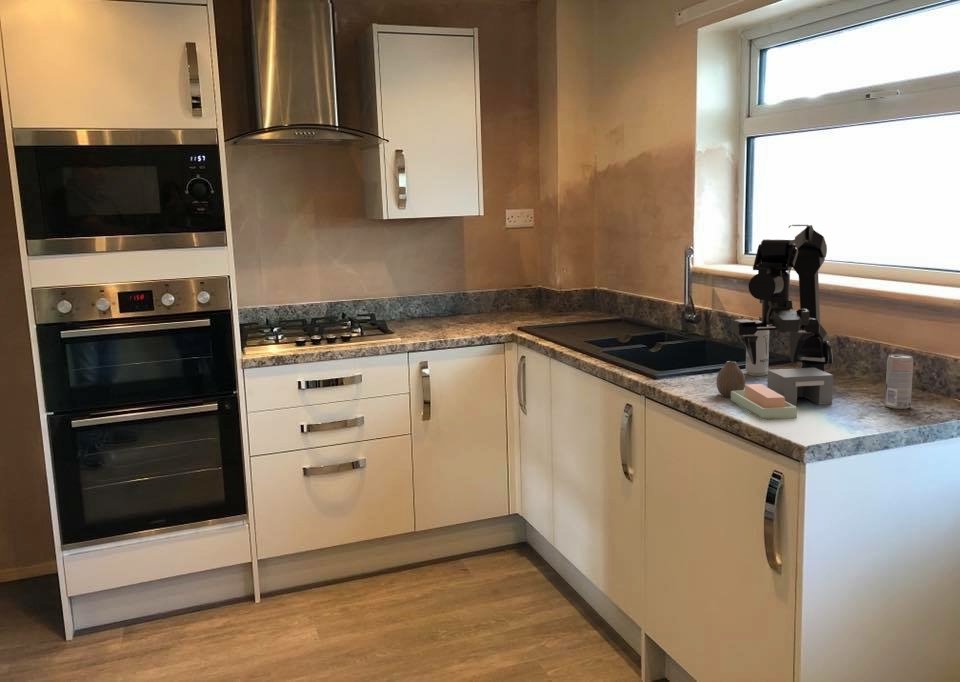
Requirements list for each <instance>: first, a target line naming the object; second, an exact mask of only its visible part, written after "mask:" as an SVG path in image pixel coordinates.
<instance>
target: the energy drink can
mask: <svg viewBox="0 0 960 682" xmlns="http://www.w3.org/2000/svg"><path fill="white" fill-rule="evenodd" d="M752 321H755V322H756V323H757V322H761V321H759V320H758V319H757V320H756V319H755V320H752ZM755 335H756V336H758V338H757V341H756V364H755V365H754V364H752V362H751V359H750V357H749V354H748V352H747V349H746V348H745V371H746V372H747V375H748V376H754V377H761V376H762V377H764V376H766V375H767V374H768V370H769V357H770V356H769V352H770V351H769V350H770V349H769V347H770V330H760V331H757V332H756V333H755Z"/></svg>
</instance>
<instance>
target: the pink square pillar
mask: <svg viewBox="0 0 960 682" xmlns="http://www.w3.org/2000/svg"><path fill="white" fill-rule="evenodd" d="M744 390H745V396H744V397H745V398H746V399H748V400H750V401H752V402H754V403H755V404H757V405H759V406H761V407H762V408H779V407H785V397H784V396H782V395H780V394H778V393H777V392H775V391H773V390H771V389H769V388H768V387H767V386H766V385H764V384H762V383H752V384H751V383H750V384H749V383H747V384H746V383H745V388H744Z"/></svg>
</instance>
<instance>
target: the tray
mask: <svg viewBox="0 0 960 682" xmlns="http://www.w3.org/2000/svg"><path fill="white" fill-rule="evenodd" d="M744 396H745V389H744V390H739V391H731V398H730V401H731V402H732V403H733V402H734V403H733V404H735V403H736V405H737V406H738V405H739V406H738V407H740V406H741V407H740V408H742V409H743V408H744V409H743V410H745V409H746V410H745V411H747V412H748V411H749V413H750V412H751V413H750V414H752V415H753V414H754V415H753V416H755V415H756V416H755V417H757V418H758V417H759V419H760V418H761V420H762V419H767V420H781V419H782V420H783V419H797V415H798V407H797V405H796V406H794V405H792V404H790V403H788V402H786V401H785V407H779V408H762V407H761V406H759V405H757V404H755V403H754V402H752V401H750V400H748V399H746V398H745V397H744Z"/></svg>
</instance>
